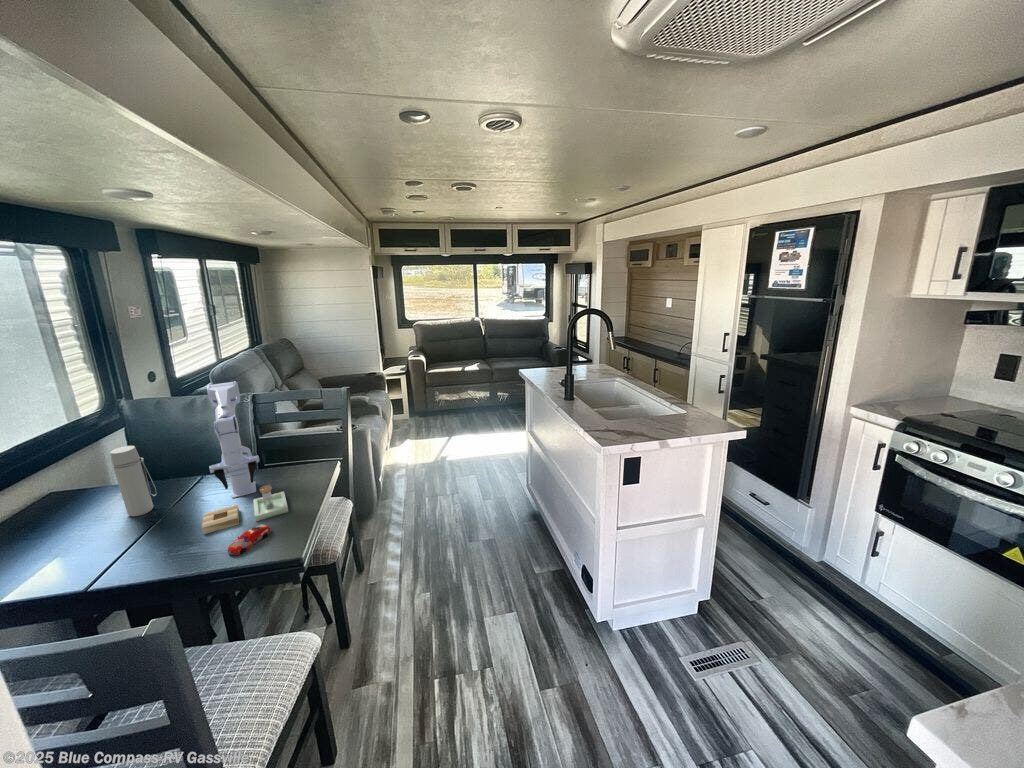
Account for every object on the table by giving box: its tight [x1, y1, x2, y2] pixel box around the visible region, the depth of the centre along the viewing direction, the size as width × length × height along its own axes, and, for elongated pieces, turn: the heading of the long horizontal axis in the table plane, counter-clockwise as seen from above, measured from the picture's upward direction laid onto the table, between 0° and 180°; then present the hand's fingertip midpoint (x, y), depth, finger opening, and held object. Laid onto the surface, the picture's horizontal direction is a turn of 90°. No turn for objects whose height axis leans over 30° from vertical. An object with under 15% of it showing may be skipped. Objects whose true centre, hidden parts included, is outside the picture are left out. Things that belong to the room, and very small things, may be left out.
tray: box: [252, 490, 289, 522], centre depth 150 cm, size 13×10×2 cm
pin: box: [259, 484, 274, 509], centre depth 149 cm, size 4×4×8 cm
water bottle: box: [109, 445, 157, 517], centre depth 146 cm, size 9×8×25 cm
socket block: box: [201, 504, 240, 535], centre depth 142 cm, size 10×10×2 cm
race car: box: [227, 524, 272, 556], centre depth 130 cm, size 13×5×4 cm, turn 159°
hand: (239, 484), depth 146 cm, fingers open, 7 cm apart
